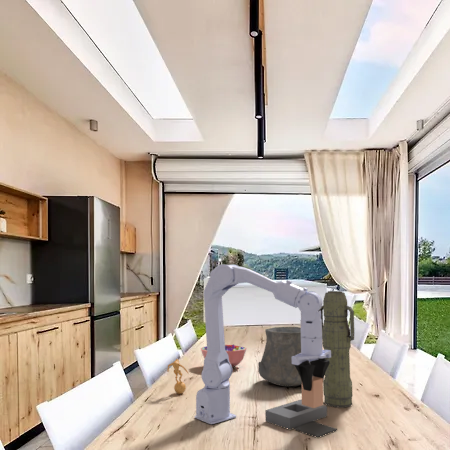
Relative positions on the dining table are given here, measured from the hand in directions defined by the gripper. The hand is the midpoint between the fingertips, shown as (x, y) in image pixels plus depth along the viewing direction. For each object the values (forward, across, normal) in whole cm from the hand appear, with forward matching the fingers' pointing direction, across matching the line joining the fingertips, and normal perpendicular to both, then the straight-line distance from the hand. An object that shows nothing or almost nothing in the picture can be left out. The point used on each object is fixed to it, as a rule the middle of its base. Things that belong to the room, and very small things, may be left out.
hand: (312, 388), depth 121 cm
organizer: (+10, +3, +8) cm, 14 cm away
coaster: (+10, 0, -1) cm, 11 cm away
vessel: (+11, +30, +35) cm, 47 cm away
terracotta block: (+4, 0, 0) cm, 4 cm away
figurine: (+11, -8, +51) cm, 53 cm away
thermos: (+11, +24, +9) cm, 28 cm away
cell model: (+11, +30, +72) cm, 79 cm away
